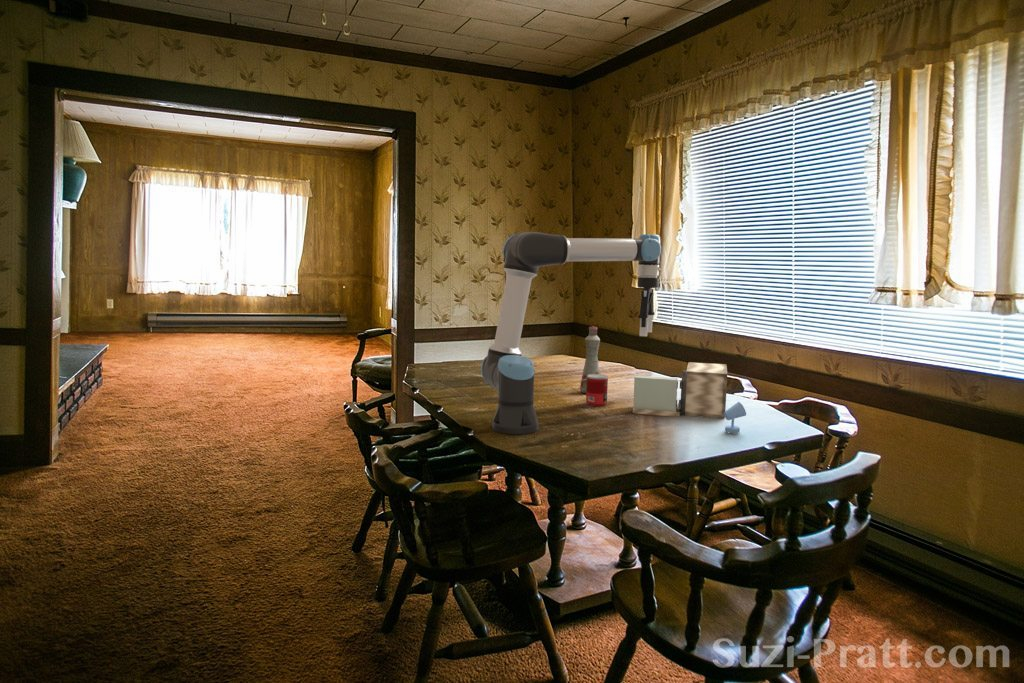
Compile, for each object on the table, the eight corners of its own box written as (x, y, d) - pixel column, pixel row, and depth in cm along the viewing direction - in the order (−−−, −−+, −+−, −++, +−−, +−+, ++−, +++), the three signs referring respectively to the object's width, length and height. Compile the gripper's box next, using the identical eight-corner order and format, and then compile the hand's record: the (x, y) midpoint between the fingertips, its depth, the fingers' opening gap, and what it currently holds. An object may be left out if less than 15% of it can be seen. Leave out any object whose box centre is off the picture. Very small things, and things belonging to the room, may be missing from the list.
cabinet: (632, 413, 240) (634, 369, 238) (640, 398, 264) (641, 359, 262) (725, 420, 231) (727, 375, 229) (724, 405, 255) (726, 364, 252)
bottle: (591, 395, 268) (593, 327, 265) (575, 392, 275) (577, 325, 271) (605, 393, 274) (607, 326, 270) (589, 389, 281) (591, 324, 277)
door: (633, 412, 242) (634, 377, 240) (634, 409, 245) (635, 375, 244) (676, 415, 237) (677, 380, 235) (676, 413, 241) (678, 378, 239)
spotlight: (740, 429, 219) (720, 430, 218) (741, 400, 217) (721, 400, 217) (747, 433, 214) (726, 434, 213) (748, 403, 212) (728, 403, 212)
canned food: (608, 406, 250) (609, 377, 249) (587, 406, 250) (587, 377, 249) (605, 402, 258) (606, 374, 256) (585, 401, 258) (585, 373, 256)
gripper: (654, 278, 230) (651, 338, 233) (662, 276, 254) (659, 331, 256) (632, 277, 232) (630, 337, 235) (642, 275, 256) (640, 330, 259)
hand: (645, 334), depth 246 cm, fingers open, 13 cm apart
